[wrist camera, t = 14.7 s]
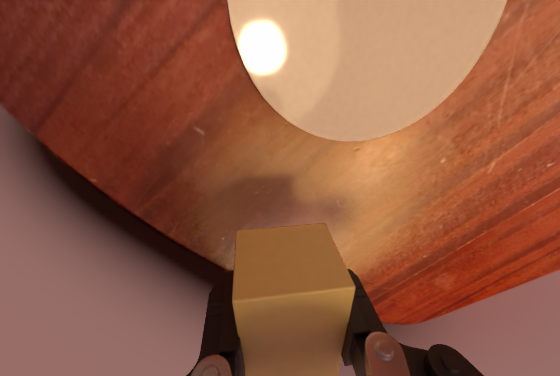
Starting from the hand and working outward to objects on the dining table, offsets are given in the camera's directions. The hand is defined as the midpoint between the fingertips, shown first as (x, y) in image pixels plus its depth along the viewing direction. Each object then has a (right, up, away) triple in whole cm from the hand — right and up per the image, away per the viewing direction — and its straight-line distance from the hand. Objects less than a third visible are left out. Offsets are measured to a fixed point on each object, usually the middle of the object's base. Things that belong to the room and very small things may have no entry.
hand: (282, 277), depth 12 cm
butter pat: (0, 0, 0) cm, 0 cm away
